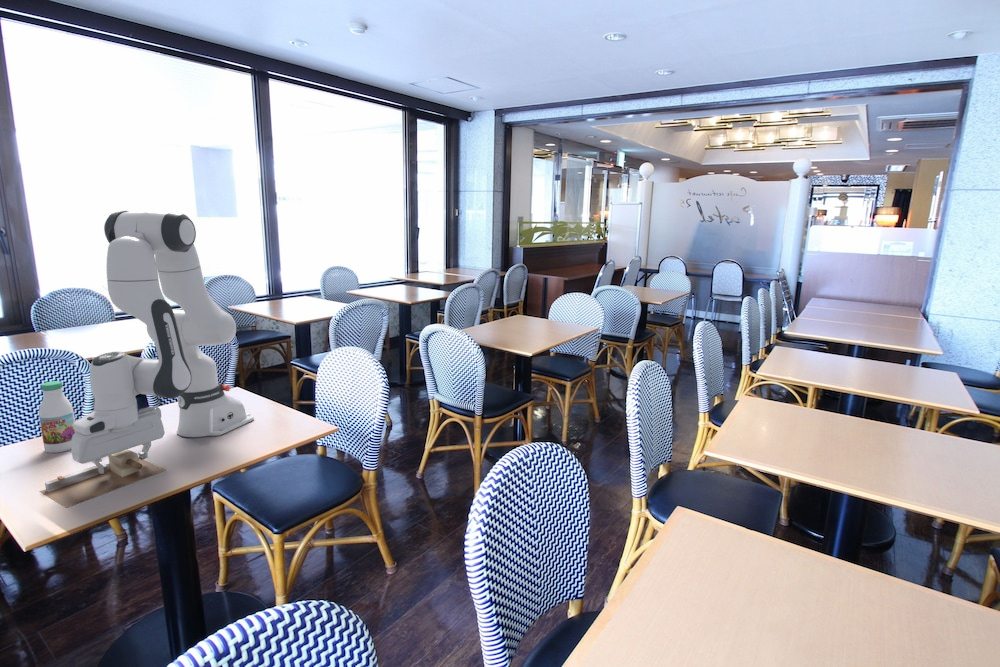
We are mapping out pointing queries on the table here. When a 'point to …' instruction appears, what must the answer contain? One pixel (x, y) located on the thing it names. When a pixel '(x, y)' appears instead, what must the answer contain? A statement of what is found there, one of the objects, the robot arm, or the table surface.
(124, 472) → the wooden mallet
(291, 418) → the table surface
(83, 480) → the walnut board
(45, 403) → the milk bottle
